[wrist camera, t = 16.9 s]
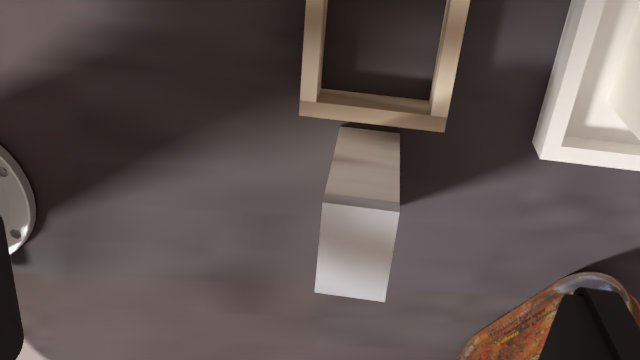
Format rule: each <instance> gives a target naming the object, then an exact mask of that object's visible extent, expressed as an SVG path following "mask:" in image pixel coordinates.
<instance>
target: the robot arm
mask: <svg viewBox="0 0 640 360" xmlns="http://www.w3.org/2000/svg"><path fill="white" fill-rule="evenodd" d="M35 220H36V205H35V200H34V194H33V191H32V189H31V186H30V184H29V181H28V179H27V177H26V176H25V174H24V172H23V171H22V169H21V167H20V166H19V165H18V163H17V162H16V161H15V160H14V159H13V157H12V156H11V155H10V154H9V153H8V152H7V151H6V150H5V149H4V148H3V147H2V146H1V145H0V360H16V358H17V357H18V355H19V353H20V351H21V349H22V345H23V340H24V333H23V328H22V322H21V317H20V311H19V305H18V300H17V294H16V288H15V283H14V277H13V271H12V266H11V260H10V255H11V254H12V253H13V252H15V251H16V250H18V249H19V248H20V246H21V245H22V244H23V243H24V242H25V241H26V240H27V239H28V237H29V235H30V234H31V232H32V230H33V227H34V223H35ZM538 360H640V328H639V326H638V324H637V323H636V321H635V319H634V317H633V316H632V314H631V312H630V311H629V309H628V307H627V305H626V304H625V302H624V300H623V298H622V297H621V296H620V294H619V293H617V292H615V291H609V290H602V289H595V288H587V287H578V288H577V289H576V290H575V291H574V293H573V294H565V295H564V296H563V297H562V299H561V301H560V304H559V307H558V309H557V312H556V315H555V317H554V320H553V322H552V325H551V328H550V330H549V333H548V335H547V338H546V341H545V343H544V346H543V348H542V351H541V354H540V356H539V359H538Z"/></svg>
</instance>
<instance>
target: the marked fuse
mask: <svg viewBox="0 0 640 360" xmlns="http://www.w3.org/2000/svg"><path fill="white" fill-rule="evenodd" d="M607 103H608V104H609V105H610V107H611V108H612V109H613V110H614V111H615V112H616V114H617V115H618V116H619V117H620V118H621V120H622V121H623V122H624V123H625V124H626V125H627V127H628V128H629V129H630V130H631V131H632V132H633V134H634V135H635V136H636V137H637V138H638V139H639V141H640V5H639V8H638V11H637V14H636V17H635V20H634V22H633V25H632V28H631V31H630V34H629V37H628V40H627V43H626V46H625V49H624V52H623V55H622V58H621V61H620V64H619V67H618V70H617V73H616V76H615V79H614V81H613V84H612V87H611V90H610V93H609V96H608V99H607Z"/></svg>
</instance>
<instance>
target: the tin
mask: <svg viewBox="0 0 640 360" xmlns="http://www.w3.org/2000/svg"><path fill="white" fill-rule="evenodd" d="M578 287H587V288H595V289H602V290H609V291H615V292H617V293H619V294H620V296H621V297H622V298H623V300H624V302H625V304H626V305H627V307H628V309H629V311H630V312H631V314H632V316H633V317H634V319H635V321H636V323H637V324H638V326H639V328H640V304H639V303H638V302H637V300H636V299H635V298H634V297H633V296H632V295H631V294H629V293H628V292H627V290H626V288H625V287H624V286H623V285H622V284H621V283H620V282H619V281H618V280H617V279H615V278H613V277H612V276H609V275H607V274H604V273H600V272H581V273H576V274H572V275H569V276H566V277H564V278H562V279H560V280H558V281H557V282H555V283H553V284H552V285H550V286H549V287H547V288H546V289H544V290H543V291H541V292H540V293H538V294H536V295H535V296H533V297H532V298H530V299H529V300H527V301H526V302H524V303H523V304H521V305H520V306H518V307H517V308H515V309H513V310H512V311H510V312H509V313H507V314H506V315H504V316H502V317H501V318H499V319H498V320H496V321H495V322H493V323H492V324H490V325H488V326H487V327H485V328H484V329H482V330H481V331H479V332H478V333H477V334H475V335H474V336H473V337H472V338H471V339H470V340H469V341H468V342H467V344H466V345H465V346H464V347H463V349H462V350H461V352H460V353H459V355H458V357H457V359H456V360H538V359H539V356H540V354H541V351H542V348H543V346H544V343H545V341H546V338H547V335H548V333H549V330H550V328H551V325H552V322H553V320H554V317H555V315H556V312H557V309H558V307H559V304H560V301H561V299H562V297H563V296H564V295H565V294H573V293H574V291H575V290H576V289H577V288H578Z"/></svg>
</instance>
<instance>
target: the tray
mask: <svg viewBox="0 0 640 360" xmlns="http://www.w3.org/2000/svg"><path fill="white" fill-rule="evenodd" d="M639 5H640V0H571V3H570V7H569V10H568V14H567V18H566V21H565V25H564V28H563V32H562V36H561V39H560V43H559V46H558V50H557V54H556V57H555V61H554V64H553V68H552V72H551V75H550V79H549V82H548V86H547V90H546V93H545V97H544V100H543V104H542V107H541V111H540V115H539V118H538V122H537V125H536V129H535V133H534V136H533V140H532V143H533V145H534V148H535V150H536V152H537V154H538V156H539V158H540V159H543V160H552V161H560V162H568V163H577V164H585V165H593V166H602V167H610V168H618V169H627V170H635V171H640V141H639V139H638V138H637V137H636V136H635V135H634V134H633V132H632V131H631V130H630V129H629V128H628V127H627V125H626V124H625V123H624V122H623V121H622V120H621V118H620V117H619V116H618V115H617V114H616V112H615V111H614V110H613V109H612V108H611V107H610V105H609V104H608V103H607V99H608V96H609V93H610V90H611V87H612V84H613V81H614V79H615V76H616V73H617V70H618V67H619V64H620V61H621V58H622V55H623V52H624V49H625V46H626V43H627V40H628V37H629V34H630V31H631V28H632V25H633V22H634V20H635V17H636V14H637V11H638V8H639Z"/></svg>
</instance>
